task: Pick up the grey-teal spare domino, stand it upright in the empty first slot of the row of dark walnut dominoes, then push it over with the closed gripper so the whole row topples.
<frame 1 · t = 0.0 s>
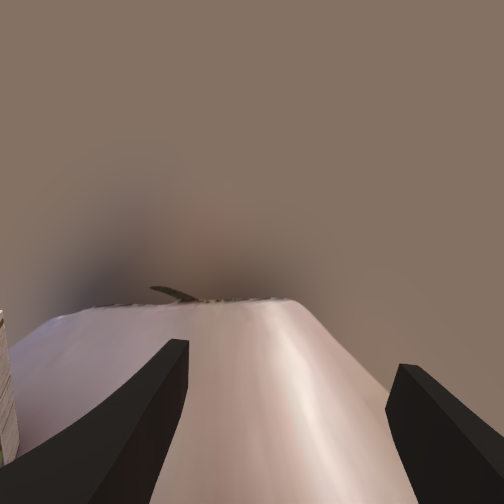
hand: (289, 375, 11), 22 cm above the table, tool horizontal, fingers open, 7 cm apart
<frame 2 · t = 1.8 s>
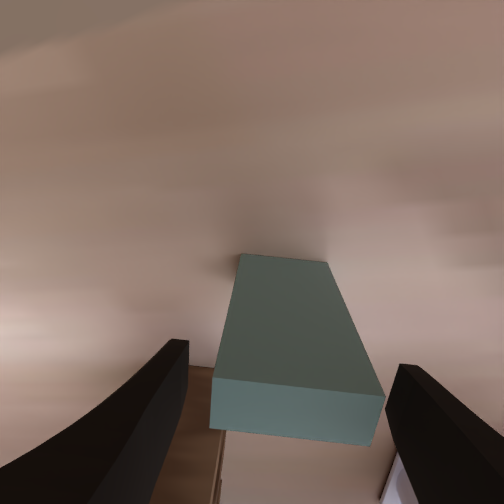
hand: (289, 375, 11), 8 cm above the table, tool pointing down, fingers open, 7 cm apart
domino 2: (194, 377, 22), on the table
spare domino: (282, 273, 19), on the table
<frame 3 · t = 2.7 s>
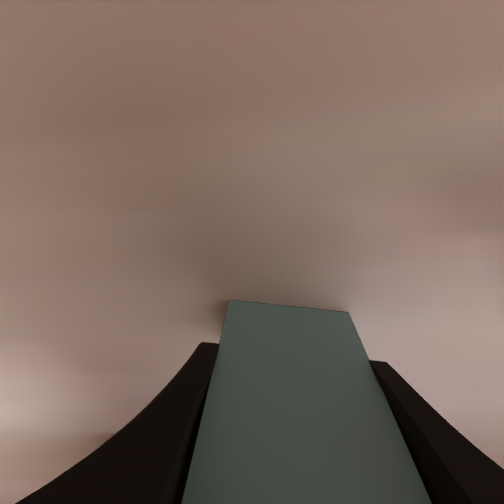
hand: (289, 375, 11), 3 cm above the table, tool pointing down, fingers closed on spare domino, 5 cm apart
spare domino: (285, 326, 14), on the table, touching gripper
when the fingers open (4 cm above the table, at t = 6.5 s): spare domino stays where it is, on the table.
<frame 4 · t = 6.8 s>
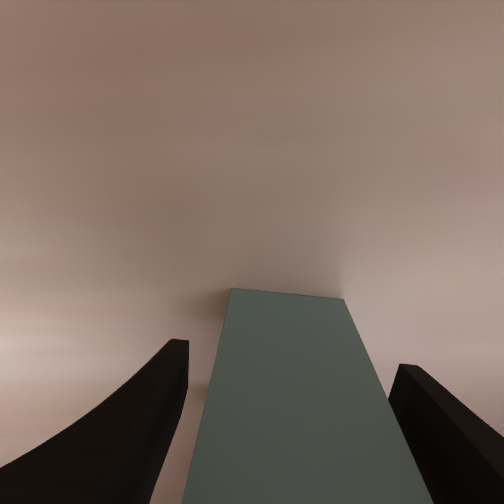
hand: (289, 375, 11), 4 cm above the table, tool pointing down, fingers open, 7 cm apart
spare domino: (285, 313, 15), on the table
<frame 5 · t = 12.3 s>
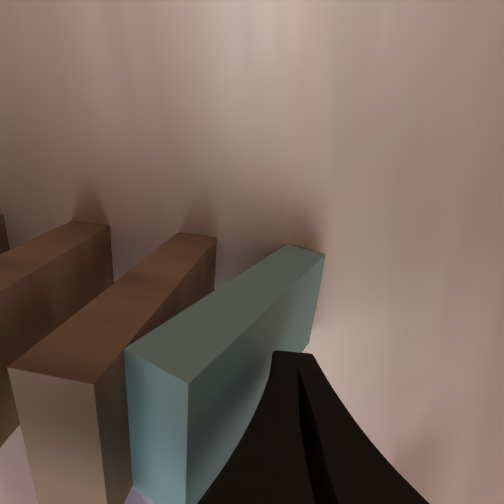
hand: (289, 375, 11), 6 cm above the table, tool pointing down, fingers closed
domino 3: (94, 268, 17), on the table
domino 2: (195, 280, 17), on the table, tilted 6°
spare domino: (298, 294, 17), on the table, tilted 26°
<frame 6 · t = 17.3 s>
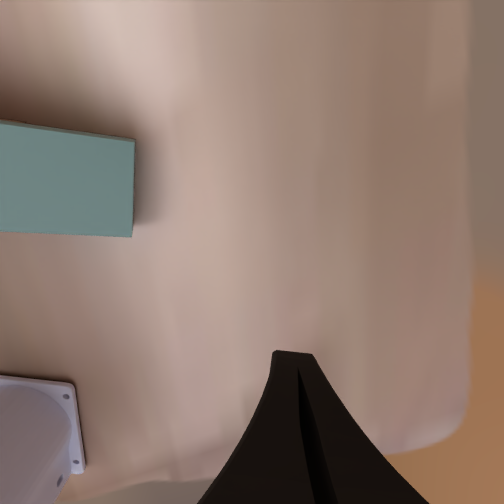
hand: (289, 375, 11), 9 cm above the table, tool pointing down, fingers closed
spare domino: (133, 188, 18), point 1 cm above the table, tilted 70°, touching domino 2
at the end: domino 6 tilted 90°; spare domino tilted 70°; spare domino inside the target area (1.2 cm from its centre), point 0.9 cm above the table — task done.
